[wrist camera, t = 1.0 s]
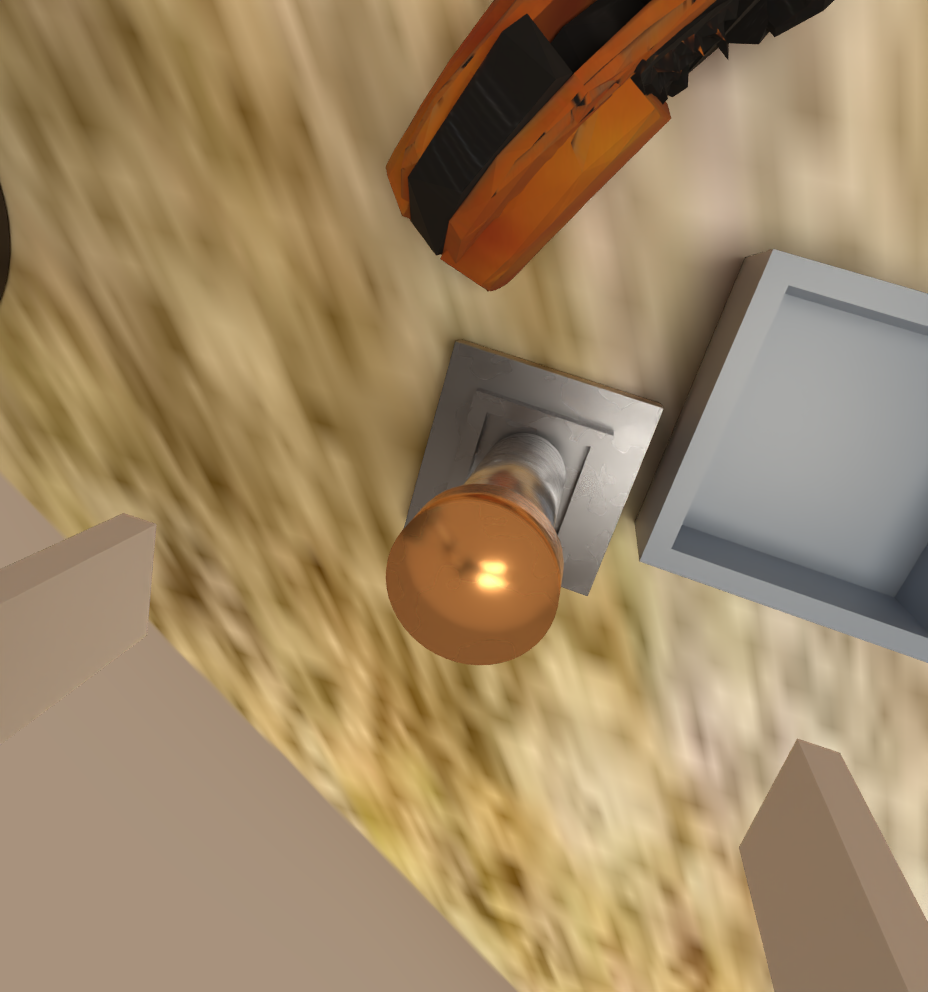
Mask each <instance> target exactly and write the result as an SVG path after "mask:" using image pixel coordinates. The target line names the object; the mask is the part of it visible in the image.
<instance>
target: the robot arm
mask: <svg viewBox="0 0 928 992" xmlns="http://www.w3.org/2000/svg"><path fill="white" fill-rule="evenodd" d="M8 266H9V228H8V220H7V214H6V208H5V204H4V200H3V196H2V192H1V189H0V299H1V296H2V293H3V290H4V287H5V283H6V278H7V273H8ZM155 534H156V524H154V523H151V522H149V521H146V520H143V519H140V518H137V517H134V516H131V515H128V514H125V513H123V514H120V515H118V516H116V517H114V518H112V519H109V520H107V521H105V522H103V523H101V524H98V525H96V526H94V527H92V528H90V529H87V530H85V531H83V532H81V533H79V534H76V535H74V536H72V537H70V538H68V539H65V540H63V541H61V542H59V543H57V544H54V545H52V546H50V547H48V548H46V549H43V550H41V551H39V552H37V553H35V554H33V555H30V556H28V557H26V558H24V559H21V560H19V561H17V562H15V563H13V564H11V565H8V566H6V567H4V568H2V569H0V745H1V744H2V743H4V742H5V741H6V740H7V739H9V738H10V737H11V736H13V735H14V734H16V733H17V732H18V731H20V730H21V729H22V728H24V727H25V726H26V725H28V724H29V723H30V722H32V721H33V720H34V719H36V718H37V717H38V716H40V715H41V714H42V713H44V712H45V711H46V710H48V709H49V708H50V707H52V706H53V705H54V704H56V703H57V702H58V701H60V700H61V699H62V698H64V697H65V696H67V694H69V693H70V692H72V691H73V690H74V689H76V688H77V687H79V686H80V685H81V684H82V683H84V682H85V681H86V680H88V679H89V678H91V677H92V676H93V675H95V674H96V673H97V672H99V671H100V670H101V669H102V668H104V667H105V666H107V665H108V664H109V663H111V662H112V661H113V660H115V659H116V658H117V657H119V656H120V655H121V654H123V653H124V652H125V651H127V650H128V649H129V648H131V647H132V646H134V645H135V644H136V643H138V642H139V641H140V640H142V639H143V638H144V637H146V636H147V628H148V617H149V605H150V593H151V581H152V570H153V558H154V546H155ZM739 850H740V854H741V858H742V862H743V866H744V870H745V874H746V878H747V882H748V886H749V890H750V894H751V898H752V902H753V906H754V910H755V914H756V918H757V922H758V926H759V930H760V935H761V939H762V943H763V947H764V951H765V955H766V959H767V963H768V967H769V971H770V975H771V979H772V983H773V987H774V991H775V992H928V922H927V920H926V918H925V916H924V914H923V912H922V910H921V908H920V906H919V904H918V902H917V900H916V898H915V897H914V895H913V893H912V891H911V889H910V887H909V885H908V883H907V881H906V879H905V877H904V875H903V873H902V872H901V870H900V868H899V866H898V864H897V862H896V860H895V858H894V856H893V854H892V852H891V850H890V848H889V846H888V845H887V843H886V841H885V839H884V837H883V835H882V833H881V831H880V829H879V827H878V825H877V823H876V821H875V819H874V818H873V816H872V814H871V812H870V810H869V808H868V806H867V804H866V802H865V800H864V798H863V796H862V794H861V792H860V791H859V789H858V787H857V785H856V783H855V781H854V779H853V777H852V775H851V773H850V771H849V769H848V767H847V765H846V764H845V762H844V760H843V758H842V756H841V754H840V753H839V752H836V751H833V750H830V749H827V748H824V747H821V746H818V745H815V744H812V743H809V742H806V741H803V740H800V739H797V740H796V742H795V744H794V746H793V748H792V750H791V751H790V753H789V755H788V757H787V759H786V761H785V763H784V764H783V766H782V768H781V770H780V772H779V774H778V776H777V777H776V779H775V781H774V783H773V785H772V787H771V789H770V791H769V792H768V794H767V796H766V798H765V800H764V802H763V804H762V805H761V807H760V809H759V811H758V813H757V815H756V817H755V818H754V820H753V822H752V824H751V826H750V828H749V830H748V831H747V833H746V835H745V837H744V839H743V841H742V843H741V844H740V846H739Z"/></svg>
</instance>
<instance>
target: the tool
mask: <svg viewBox="0 0 928 992" xmlns="http://www.w3.org/2000/svg"><path fill="white" fill-rule="evenodd" d="M833 1H834V0H494V1H493V2H492V4H491V5H490V6H489V8H488V9H487V10H486V12H485V13H484V14H483V16H482V17H481V19H480V20H479V21H478V23H477V24H476V25H475V27H474V28H473V29H472V31H471V32H470V33H469V35H468V36H467V38H466V39H465V40H464V42H463V43H462V44H461V46H460V47H459V48H458V50H457V51H456V53H455V54H454V55H453V57H452V58H451V59H450V61H449V62H448V64H447V65H446V67H445V68H444V70H443V72H442V73H441V75H440V76H439V78H438V79H437V81H436V82H435V84H434V86H433V87H432V89H431V90H430V92H429V93H428V95H427V96H426V98H425V100H424V101H423V103H422V104H421V106H420V108H419V109H418V111H417V113H416V115H415V116H414V118H413V120H412V122H411V124H410V125H409V127H408V129H407V130H406V132H405V133H404V135H403V137H402V138H401V140H400V142H399V143H398V145H397V147H396V148H395V150H394V152H393V153H392V155H391V157H390V159H389V161H388V163H387V165H386V170H387V175H388V179H389V181H390V184H391V187H392V189H393V192H394V195H395V198H396V200H397V203H398V206H399V208H400V211H401V214H402V216H404V217H407V218H409V219H410V220H411V222H412V223H413V225H414V226H415V227H416V229H417V230H418V231H419V233H420V234H421V235H422V237H423V238H424V240H425V241H426V242H427V244H428V245H429V246H430V248H431V249H432V250H433V252H434V253H435V254H436V255H439V254H442V257H441V258H440V259H441V260H443V261H444V262H446V263H447V264H448V265H450V266H452V267H453V268H455V269H456V270H458V271H459V272H461V273H462V274H464V275H465V276H467V277H468V278H470V279H471V280H473V281H474V282H476V283H477V284H478V285H480V286H482V287H483V288H485V289H486V290H487V291H493V290H497V289H498V288H501V287H502V286H504V285H506V284H507V283H508V282H509V281H510V280H512V279H513V278H514V277H515V276H516V275H517V274H518V273H519V272H520V271H521V269H522V268H523V267H524V266H525V265H526V264H527V263H528V262H529V261H530V260H531V259H532V258H533V257H534V256H535V255H536V254H537V253H538V252H539V251H540V250H541V248H542V247H543V246H544V245H545V244H546V243H547V242H548V241H549V240H550V239H551V238H552V237H553V236H554V235H555V234H556V233H557V232H558V231H559V230H560V229H561V228H562V227H563V226H564V225H565V224H566V223H567V222H568V221H569V220H570V219H571V218H572V217H573V216H574V215H575V214H576V213H577V212H578V211H579V210H580V209H581V208H582V207H583V206H584V205H585V204H586V202H587V201H588V200H589V199H590V198H591V197H592V196H593V195H594V194H595V193H596V192H598V191H599V190H600V189H601V188H602V187H603V186H604V185H605V184H606V183H607V182H608V181H609V180H610V179H611V178H612V177H613V176H614V175H615V174H616V173H617V172H618V171H619V170H620V169H621V168H622V167H623V166H624V165H625V164H626V163H627V162H628V161H629V160H630V159H631V158H632V157H633V156H634V155H635V154H636V153H637V152H638V151H639V150H640V149H641V148H642V147H643V146H644V145H645V144H646V143H647V142H648V141H649V140H650V139H651V138H652V137H653V136H654V135H655V134H656V133H657V132H658V131H659V130H660V129H661V128H662V127H663V126H664V125H665V124H666V123H667V122H668V121H669V120H670V119H671V116H670V112H669V108H668V105H667V103H666V102H665V101H666V100H667V99H668V95H669V96H671V97H674V96H675V95H677V94H678V93H680V92H681V91H683V90H684V89H686V88H687V87H688V73H689V72H691V71H692V70H693V69H694V68H695V67H696V66H698V65H699V64H700V63H701V62H702V61H703V60H705V59H706V58H707V57H708V56H709V55H710V54H712V53H713V52H714V51H715V50H716V49H717V48H718V47H719V49H720V50H721V51H722V53H723V54H724V55H725V57H726V58H727V59H728V44H729V43H739V44H759V43H760V42H761V41H762V40H763V39H764V37H765V36H766V35H767V34H768V33H769V31H770V32H771V34H772V35H773V36H774V37H776V36H778V35H780V34H781V33H783V32H785V31H787V30H789V29H791V28H793V27H794V26H796V25H798V24H800V23H802V22H804V21H805V20H807V19H809V18H811V17H813V16H815V15H816V14H818V13H820V12H822V11H823V10H825V9H826V8H827V7H828V6H829V5H830V4H831V3H832V2H833Z"/></svg>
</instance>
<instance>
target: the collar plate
mask: <svg viewBox="0 0 928 992" xmlns="http://www.w3.org/2000/svg"><path fill="white" fill-rule="evenodd" d="M663 409H664V408H663V406H662V405H661V403H658V402H655V401H652V400H649V399H645V398H642V397H639V396H636V395H633V394H630V393H627V392H624V391H621V390H618V389H614V388H611V387H608V386H605V385H602V384H599V383H596V382H593V381H590V380H587V379H583V378H580V377H577V376H574V375H571V374H568V373H565V372H562V371H559V370H556V369H552V368H549V367H546V366H543V365H540V364H537V363H534V362H531V361H528V360H525V359H522V358H518V357H515V356H512V355H509V354H506V353H503V352H500V351H497V350H494V349H491V348H487V347H484V346H481V345H478V344H475V343H472V342H469V341H466V340H463V339H462V340H458V341H455V345H454V349H453V352H452V356H451V360H450V363H449V367H448V370H447V374H446V378H445V381H444V385H443V388H442V392H441V396H440V399H439V403H438V407H437V410H436V414H435V417H434V421H433V425H432V428H431V432H430V435H429V439H428V443H427V446H426V450H425V454H424V457H423V461H422V464H421V468H420V472H419V475H418V479H417V482H416V486H415V490H414V493H413V497H412V501H411V504H410V508H409V511H408V515H407V519H406V522H405V526H404V528H405V527H406V526H407V525H408V523H409V522H410V521H411V520H412V519H413V518H414V517H415V516H416V514H417V513H418V512H419V511H420V510H421V509H422V508H423V507H424V506H425V505H426V504H427V503H428V502H429V501H430V500H431V499H433V498H434V497H435V496H437V495H439V494H440V493H442V492H444V491H446V490H449V489H451V488H454V487H458V486H462V485H464V483H465V482H466V481H467V480H468V478H469V477H470V476H471V474H472V473H473V472H474V470H475V469H476V468H477V467H478V465H479V464H480V463H481V461H482V460H483V459H484V457H485V456H486V455H487V454H488V452H489V451H490V450H491V448H492V447H493V446H494V445H495V444H496V443H497V442H498V441H500V440H501V439H503V438H505V437H507V436H509V435H513V434H518V433H529V434H534V435H538V436H540V437H542V438H544V439H546V440H547V441H549V442H550V443H551V444H552V445H553V446H554V447H555V448H556V449H557V450H558V451H559V453H560V455H561V456H562V459H563V461H564V465H565V471H566V477H565V483H564V488H563V492H562V496H561V501H560V505H559V510H558V514H557V518H556V523H555V527H554V529H555V531H556V533H557V535H558V538H559V540H560V544H561V547H562V552H563V559H564V568H563V576H562V583H561V587H563V588H566V589H569V590H571V591H574V592H577V593H580V594H582V595H585V596H588V594H589V591H590V589H591V587H592V584H593V582H594V579H595V577H596V574H597V572H598V569H599V567H600V564H601V562H602V559H603V557H604V554H605V552H606V550H607V547H608V545H609V542H610V540H611V537H612V535H613V532H614V530H615V527H616V525H617V522H618V520H619V517H620V515H621V513H622V510H623V508H624V505H625V503H626V500H627V498H628V495H629V493H630V490H631V488H632V485H633V483H634V480H635V478H636V476H637V473H638V471H639V468H640V466H641V463H642V461H643V458H644V456H645V453H646V451H647V448H648V446H649V443H650V441H651V439H652V436H653V434H654V431H655V429H656V426H657V424H658V421H659V419H660V416H661V414H662V411H663Z"/></svg>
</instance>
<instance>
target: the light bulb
mask: <svg viewBox="0 0 928 992" xmlns="http://www.w3.org/2000/svg"><path fill="white" fill-rule="evenodd" d="M565 477H566V471H565V465H564V461H563V459H562V456H561V455H560V453H559V451H558V450H557V449H556V448H555V447H554V446H553V445H552V444H551V443H550V442H549V441H547V440H546V439H544V438H542V437H540V436H538V435H534V434H529V433H518V434H513V435H509V436H507V437H505V438H503V439H501V440H500V441H498V442H497V443H496V444H495V445H494V446H493V447H492V448H491V450H490V451H489V452H488V454H487V455H486V456H485V457H484V459H483V460H482V461H481V463H480V464H479V465H478V467H477V468H476V469H475V470H474V472H473V473H472V474H471V476H470V477H469V478H468V480H467V481H466V482H465V483H464V485H462V486H458V487H454V488H451V489H449V490H446V491H444V492H442V493H440V494H439V495H437V496H435V497H434V498H433V499H431V500H430V501H429V502H428V503H427V504H426V505H425V506H424V507H423V508H422V509H421V510H420V511H419V512H418V513H417V514H416V516H415V517H414V518H413V519H412V520H411V521H410V522H409V523H408V525H407V526H406V527H405V528H404V529H403V530H402V532H401V533H400V534H399V536H398V537H397V539H396V540H395V542H394V544H393V546H392V548H391V551H390V554H389V557H388V562H387V567H386V584H387V591H388V596H389V599H390V602H391V605H392V608H393V610H394V612H395V614H396V616H397V618H398V619H399V621H400V622H401V624H402V625H403V627H404V628H405V629H406V630H407V631H408V633H409V634H410V635H411V636H412V637H413V638H414V639H415V640H417V641H418V642H419V643H420V644H421V645H423V646H424V647H425V648H427V649H428V650H430V651H432V652H434V653H435V654H437V655H439V656H442V657H444V658H446V659H449V660H452V661H455V662H459V663H464V664H471V665H491V664H497V663H502V662H506V661H509V660H512V659H514V658H516V657H519V656H521V655H522V654H524V653H526V652H527V651H529V650H530V649H531V648H532V647H534V646H535V645H536V644H537V643H538V642H539V641H540V640H541V639H542V638H543V637H544V635H545V634H546V632H547V631H548V629H549V628H550V626H551V624H552V622H553V620H554V618H555V614H556V611H557V608H558V601H559V595H560V589H561V583H562V576H563V568H564V559H563V552H562V547H561V544H560V540H559V538H558V535H557V533H556V531H555V529H554V527H555V523H556V518H557V514H558V510H559V505H560V501H561V496H562V492H563V488H564V483H565Z"/></svg>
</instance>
